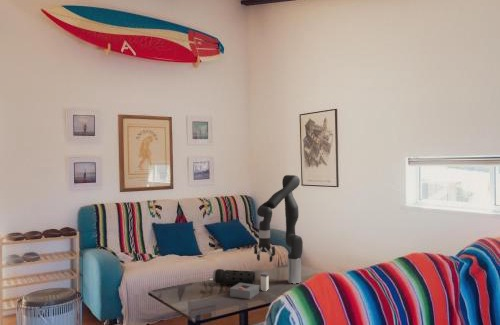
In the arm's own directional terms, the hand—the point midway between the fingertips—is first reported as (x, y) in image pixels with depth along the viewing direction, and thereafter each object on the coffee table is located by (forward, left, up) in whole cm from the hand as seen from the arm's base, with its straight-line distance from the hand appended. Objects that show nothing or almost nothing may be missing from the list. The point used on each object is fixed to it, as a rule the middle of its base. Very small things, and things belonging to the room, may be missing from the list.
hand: (264, 261), depth 287 cm
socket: (+14, -8, -19) cm, 25 cm away
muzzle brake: (-2, -24, -20) cm, 31 cm away
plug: (0, 0, -19) cm, 19 cm away
